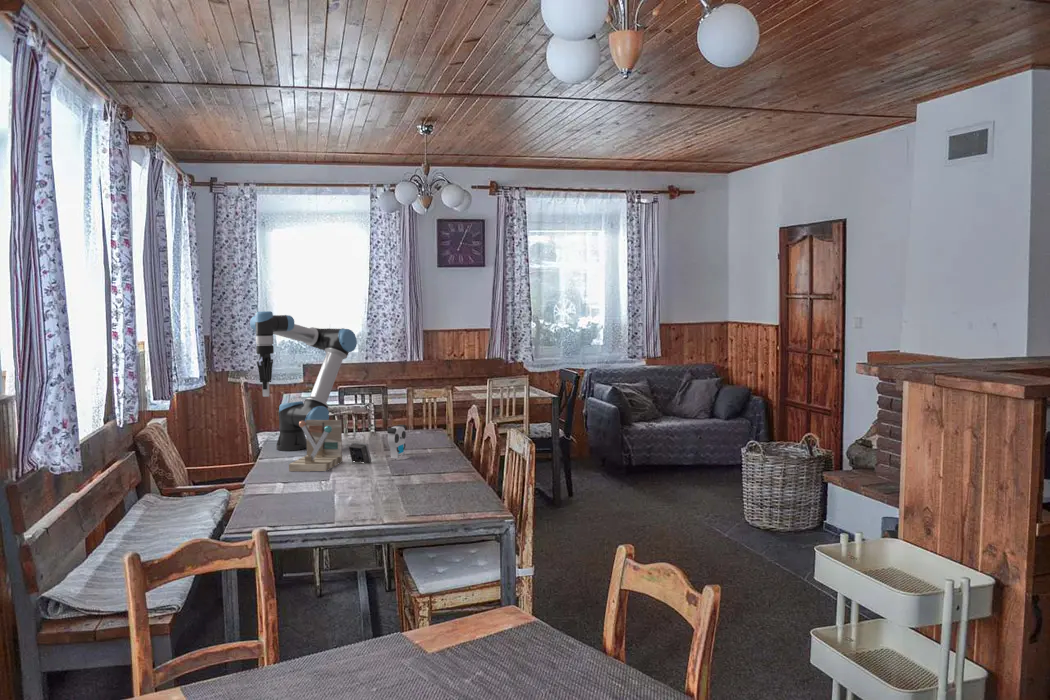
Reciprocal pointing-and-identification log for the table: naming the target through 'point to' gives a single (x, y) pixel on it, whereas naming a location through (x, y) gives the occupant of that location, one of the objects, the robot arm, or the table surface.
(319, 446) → the teal lever
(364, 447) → the electrical switch
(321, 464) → the switch unit
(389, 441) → the panda figurine
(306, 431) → the terracotta lever
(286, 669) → the table surface
